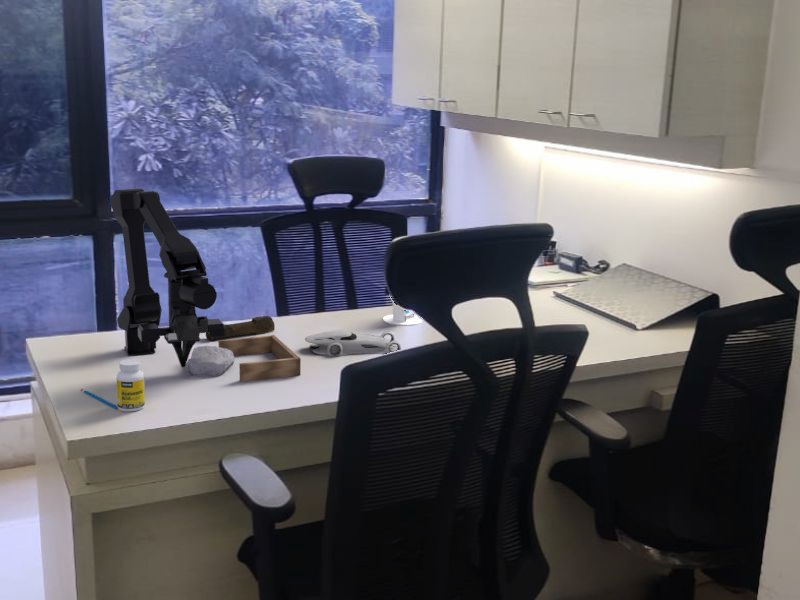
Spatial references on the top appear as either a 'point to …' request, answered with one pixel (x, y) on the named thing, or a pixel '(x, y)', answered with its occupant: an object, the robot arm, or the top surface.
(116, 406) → the pencil
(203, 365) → the stone block
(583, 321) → the top surface
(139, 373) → the supplement bottle
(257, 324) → the brown wooden log
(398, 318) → the white upright piece
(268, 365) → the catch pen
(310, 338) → the car model
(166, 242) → the robot arm
